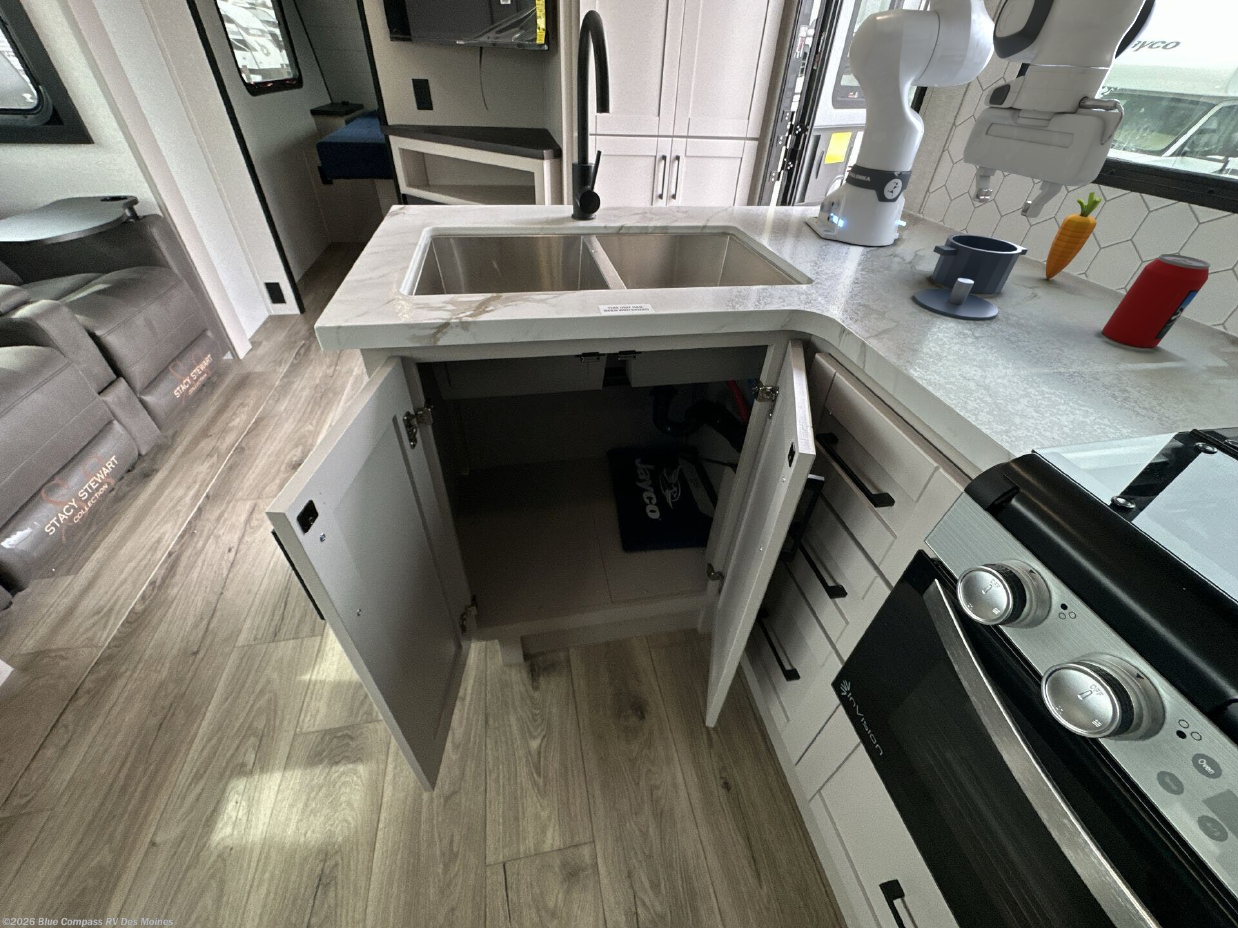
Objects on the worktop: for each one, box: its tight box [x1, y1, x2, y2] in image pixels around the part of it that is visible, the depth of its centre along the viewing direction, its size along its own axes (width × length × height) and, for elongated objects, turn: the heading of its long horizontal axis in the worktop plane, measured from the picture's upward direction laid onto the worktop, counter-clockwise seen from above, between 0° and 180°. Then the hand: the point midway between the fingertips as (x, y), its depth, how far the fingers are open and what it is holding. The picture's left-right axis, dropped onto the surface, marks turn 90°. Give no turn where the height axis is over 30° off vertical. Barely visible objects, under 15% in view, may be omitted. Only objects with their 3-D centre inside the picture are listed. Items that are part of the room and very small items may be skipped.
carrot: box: [1045, 191, 1103, 280], centre depth 95 cm, size 5×5×15 cm
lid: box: [913, 278, 999, 321], centre depth 83 cm, size 12×12×5 cm
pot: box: [930, 233, 1029, 296], centre depth 91 cm, size 11×17×8 cm
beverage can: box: [1102, 253, 1211, 349], centre depth 73 cm, size 7×7×12 cm
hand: (1002, 209), depth 76 cm, fingers open, 8 cm apart
